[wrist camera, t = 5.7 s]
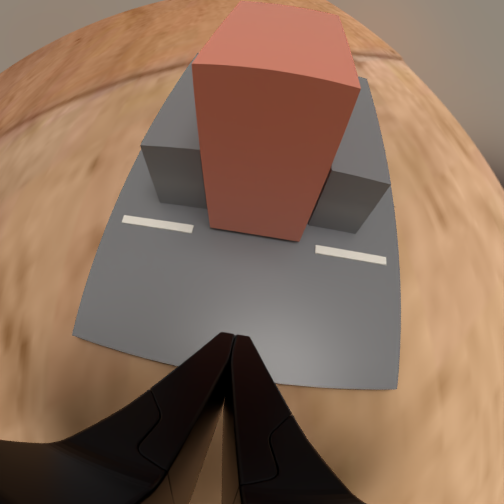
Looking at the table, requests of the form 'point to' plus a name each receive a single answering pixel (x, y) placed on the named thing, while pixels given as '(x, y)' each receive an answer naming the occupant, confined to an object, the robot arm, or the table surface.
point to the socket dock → (252, 264)
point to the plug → (271, 115)
